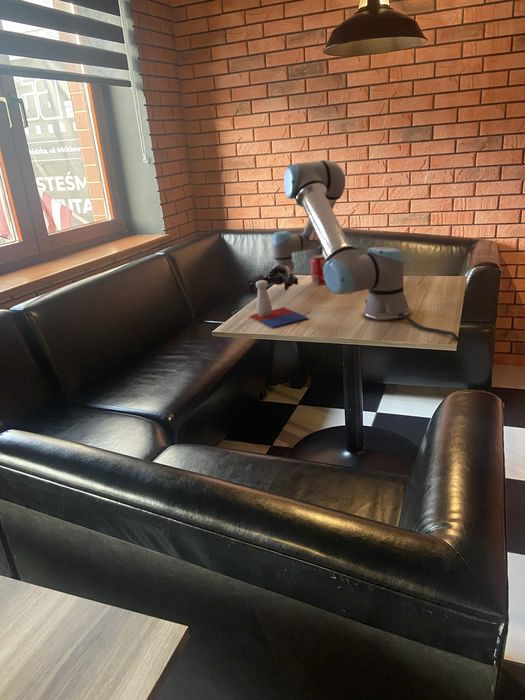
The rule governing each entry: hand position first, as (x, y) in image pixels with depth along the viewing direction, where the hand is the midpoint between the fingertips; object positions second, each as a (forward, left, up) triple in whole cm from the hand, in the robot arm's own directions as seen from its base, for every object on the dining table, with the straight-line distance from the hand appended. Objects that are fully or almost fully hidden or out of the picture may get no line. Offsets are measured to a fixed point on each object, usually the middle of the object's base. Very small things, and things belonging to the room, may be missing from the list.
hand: (268, 287), depth 203 cm
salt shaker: (-7, +6, -8) cm, 12 cm away
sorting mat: (-12, +3, -9) cm, 15 cm away
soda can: (+20, -35, -9) cm, 41 cm away
